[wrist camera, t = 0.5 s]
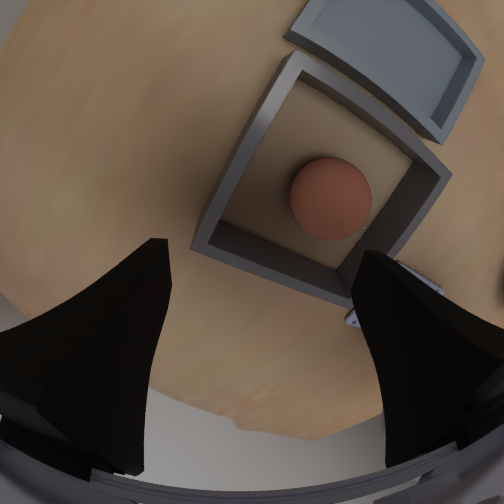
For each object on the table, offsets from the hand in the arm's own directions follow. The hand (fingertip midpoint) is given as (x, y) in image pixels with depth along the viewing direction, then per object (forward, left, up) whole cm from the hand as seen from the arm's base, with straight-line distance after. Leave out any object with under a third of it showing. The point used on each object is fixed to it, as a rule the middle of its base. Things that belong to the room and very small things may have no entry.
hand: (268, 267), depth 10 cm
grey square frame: (-4, -2, -10) cm, 10 cm away
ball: (-4, -2, -7) cm, 8 cm away
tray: (-3, -14, -9) cm, 17 cm away
